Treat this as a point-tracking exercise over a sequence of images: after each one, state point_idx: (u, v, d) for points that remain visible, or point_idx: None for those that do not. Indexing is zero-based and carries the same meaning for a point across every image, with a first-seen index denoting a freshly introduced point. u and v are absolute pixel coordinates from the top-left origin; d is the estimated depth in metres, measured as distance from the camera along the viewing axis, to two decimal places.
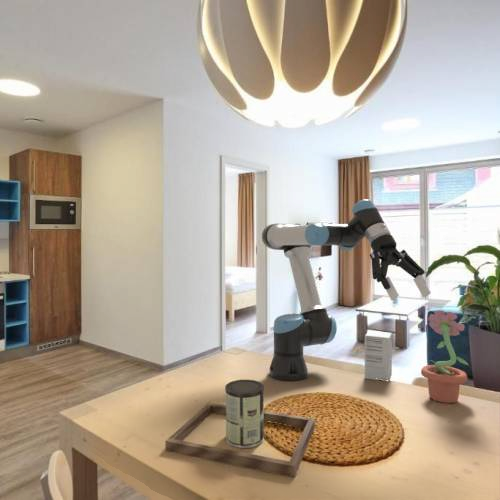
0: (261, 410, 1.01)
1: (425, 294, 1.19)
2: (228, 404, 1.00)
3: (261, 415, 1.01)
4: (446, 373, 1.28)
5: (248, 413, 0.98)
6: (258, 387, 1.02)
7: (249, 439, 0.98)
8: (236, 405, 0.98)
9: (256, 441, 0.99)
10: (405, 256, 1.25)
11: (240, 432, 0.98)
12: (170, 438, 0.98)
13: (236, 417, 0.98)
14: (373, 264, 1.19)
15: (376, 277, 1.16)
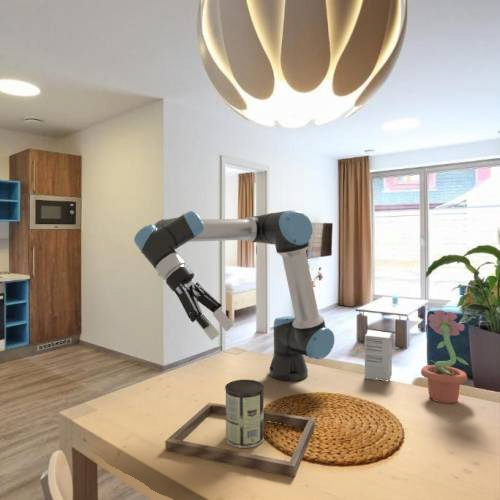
0: (261, 410, 1.01)
1: None
2: (228, 404, 1.00)
3: (261, 415, 1.01)
4: (446, 373, 1.28)
5: (248, 413, 0.98)
6: (258, 387, 1.02)
7: (249, 439, 0.98)
8: (236, 405, 0.98)
9: (256, 441, 0.99)
10: None
11: (240, 432, 0.98)
12: (170, 438, 0.98)
13: (236, 417, 0.98)
14: None
15: None
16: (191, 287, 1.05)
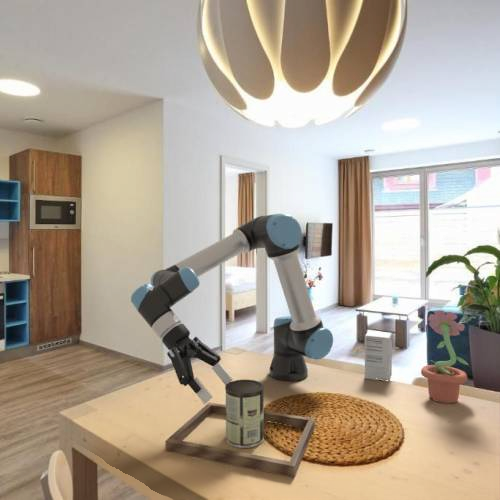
0: (261, 410, 1.01)
1: None
2: (228, 403, 1.00)
3: (261, 415, 1.01)
4: (446, 373, 1.28)
5: (248, 413, 0.98)
6: (258, 387, 1.02)
7: (249, 439, 0.98)
8: (236, 405, 0.98)
9: (256, 441, 0.99)
10: None
11: (240, 432, 0.98)
12: (170, 438, 0.98)
13: (236, 416, 0.98)
14: None
15: None
16: (185, 347, 1.05)
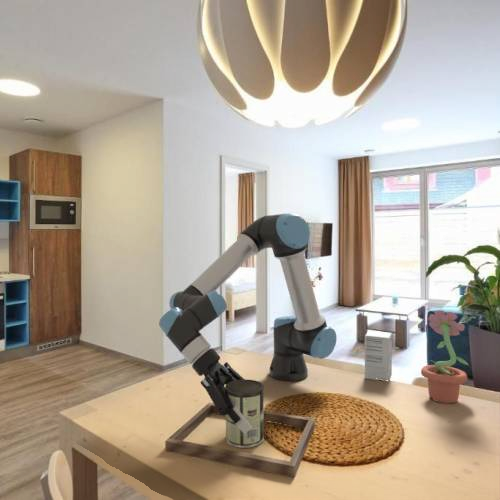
0: (261, 410, 1.01)
1: None
2: None
3: (261, 415, 1.01)
4: (446, 373, 1.28)
5: (248, 413, 0.98)
6: (258, 387, 1.02)
7: (249, 439, 0.98)
8: (236, 405, 0.98)
9: (256, 441, 0.99)
10: None
11: (240, 432, 0.98)
12: (170, 438, 0.98)
13: None
14: None
15: None
16: (217, 374, 1.03)
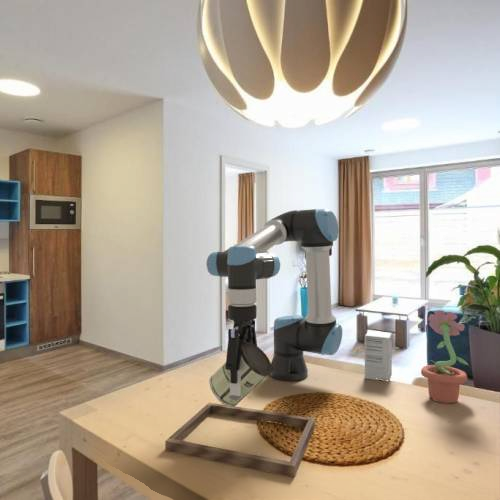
0: (255, 386, 1.01)
1: None
2: None
3: (252, 389, 1.01)
4: (446, 373, 1.28)
5: (245, 383, 0.98)
6: (267, 367, 1.01)
7: (229, 399, 1.00)
8: (241, 370, 0.98)
9: (233, 403, 1.01)
10: None
11: (227, 389, 0.99)
12: (170, 438, 0.98)
13: None
14: None
15: None
16: (245, 331, 1.00)
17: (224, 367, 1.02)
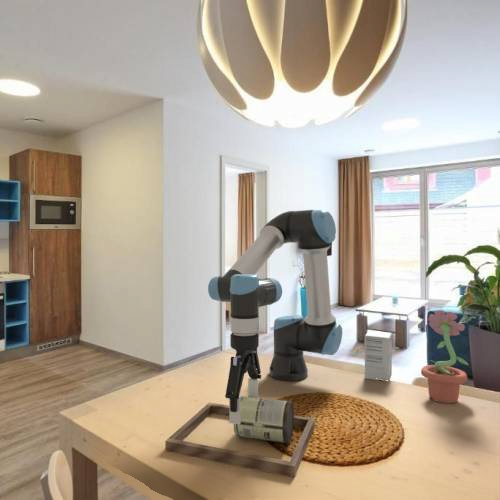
0: (268, 440, 1.01)
1: None
2: (274, 410, 0.99)
3: (263, 439, 1.01)
4: (446, 373, 1.28)
5: (266, 433, 0.98)
6: (289, 436, 1.01)
7: (241, 430, 1.00)
8: (274, 421, 0.98)
9: (239, 434, 1.01)
10: None
11: (248, 422, 0.99)
12: (170, 438, 0.98)
13: (263, 419, 0.99)
14: None
15: None
16: (247, 360, 1.00)
17: (260, 403, 1.02)
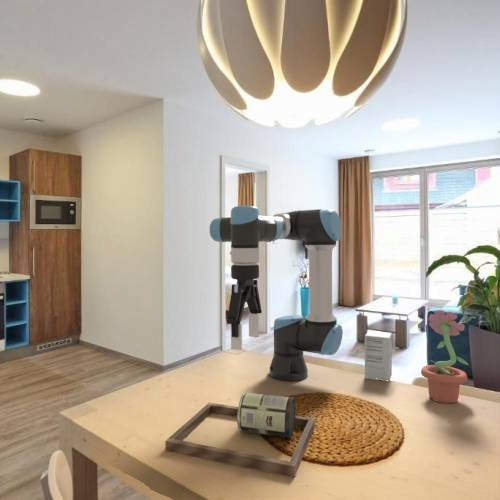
0: (268, 431, 1.02)
1: None
2: (278, 398, 1.04)
3: (263, 431, 1.02)
4: (446, 373, 1.28)
5: (269, 417, 1.01)
6: (290, 432, 1.02)
7: (244, 415, 1.03)
8: (277, 405, 1.02)
9: (241, 422, 1.03)
10: None
11: (252, 406, 1.03)
12: (170, 438, 0.98)
13: (267, 404, 1.03)
14: None
15: None
16: (248, 289, 1.02)
17: (265, 395, 1.07)
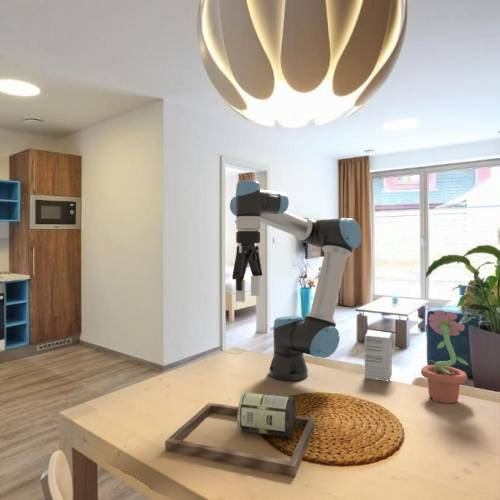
0: (268, 431, 1.02)
1: None
2: (279, 397, 1.05)
3: (264, 430, 1.02)
4: (446, 373, 1.28)
5: (269, 416, 1.01)
6: (290, 431, 1.02)
7: (245, 414, 1.03)
8: (278, 404, 1.02)
9: (241, 421, 1.03)
10: None
11: (252, 405, 1.04)
12: (170, 438, 0.98)
13: (267, 403, 1.03)
14: None
15: None
16: (250, 251, 1.19)
17: None
